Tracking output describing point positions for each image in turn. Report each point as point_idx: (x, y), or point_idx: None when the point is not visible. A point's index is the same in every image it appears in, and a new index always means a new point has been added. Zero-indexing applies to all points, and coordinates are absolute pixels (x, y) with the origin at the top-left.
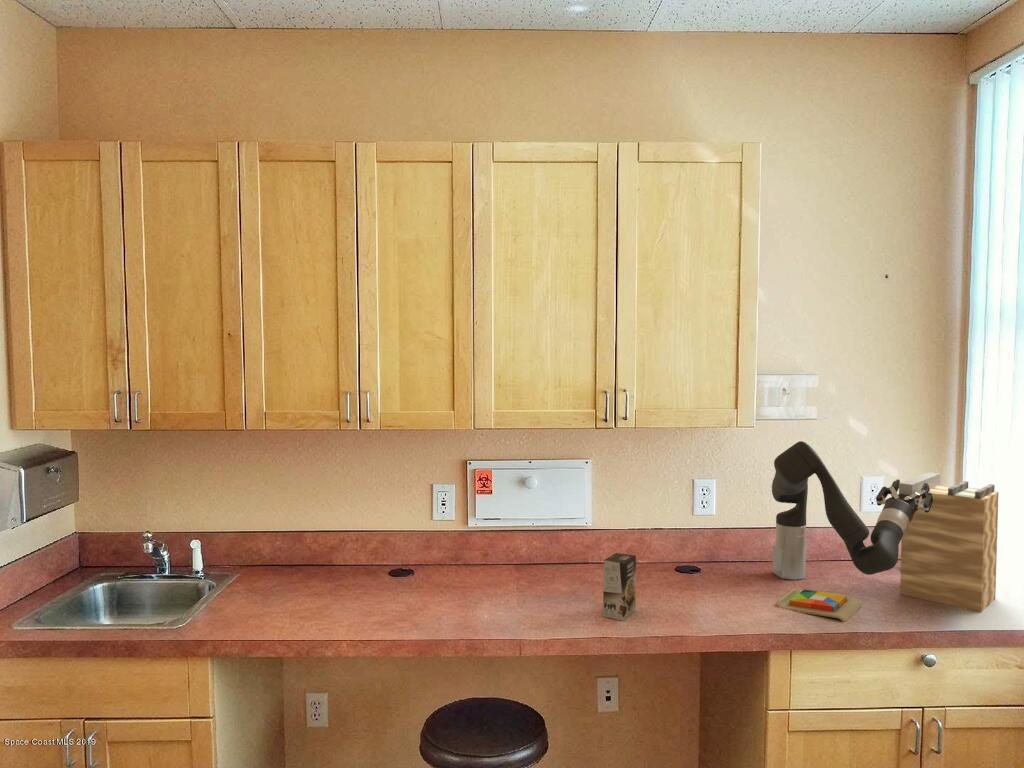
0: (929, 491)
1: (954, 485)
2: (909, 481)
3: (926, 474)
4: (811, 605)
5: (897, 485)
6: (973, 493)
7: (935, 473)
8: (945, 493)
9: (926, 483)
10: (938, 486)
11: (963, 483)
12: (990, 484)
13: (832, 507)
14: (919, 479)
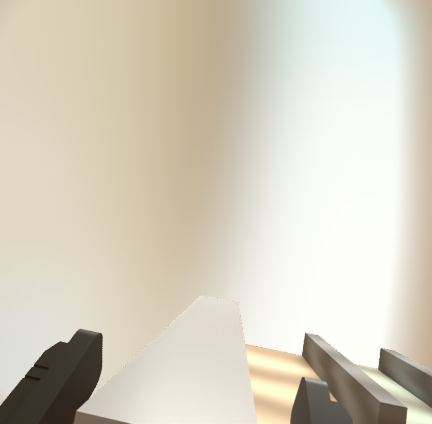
0: None
1: (338, 363)
2: (179, 356)
3: (207, 302)
4: None
5: (67, 399)
6: (407, 405)
7: (225, 300)
8: None
9: (325, 388)
10: None
11: (329, 346)
12: (386, 349)
13: None
14: (217, 330)
